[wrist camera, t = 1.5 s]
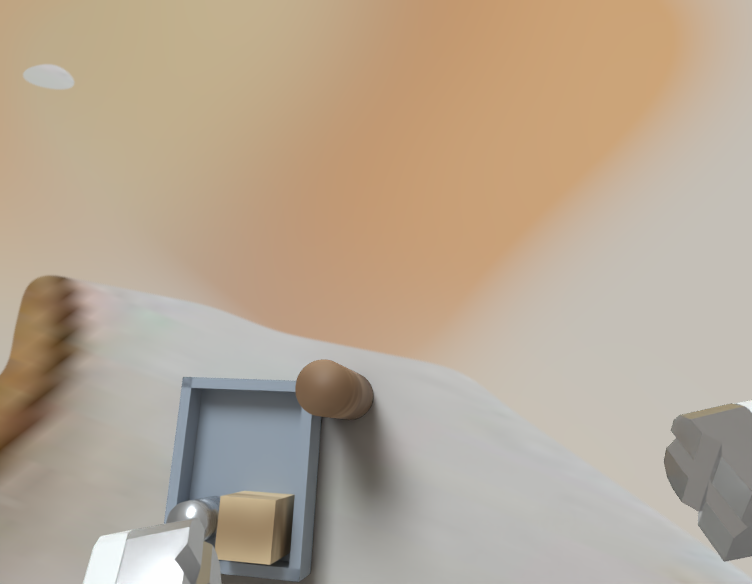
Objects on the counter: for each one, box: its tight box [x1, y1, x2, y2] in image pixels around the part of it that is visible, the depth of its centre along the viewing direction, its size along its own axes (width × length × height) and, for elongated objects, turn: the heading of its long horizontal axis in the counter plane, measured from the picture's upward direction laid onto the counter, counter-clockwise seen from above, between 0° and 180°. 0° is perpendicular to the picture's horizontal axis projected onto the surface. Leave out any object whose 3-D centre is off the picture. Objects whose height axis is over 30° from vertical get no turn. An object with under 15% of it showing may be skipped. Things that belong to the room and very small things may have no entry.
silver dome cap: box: [166, 496, 220, 542], centre depth 41 cm, size 3×3×4 cm
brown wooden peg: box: [295, 360, 373, 420], centre depth 40 cm, size 4×4×8 cm
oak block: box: [215, 491, 295, 565], centre depth 40 cm, size 4×4×4 cm
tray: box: [164, 377, 321, 582], centre depth 42 cm, size 14×11×3 cm
